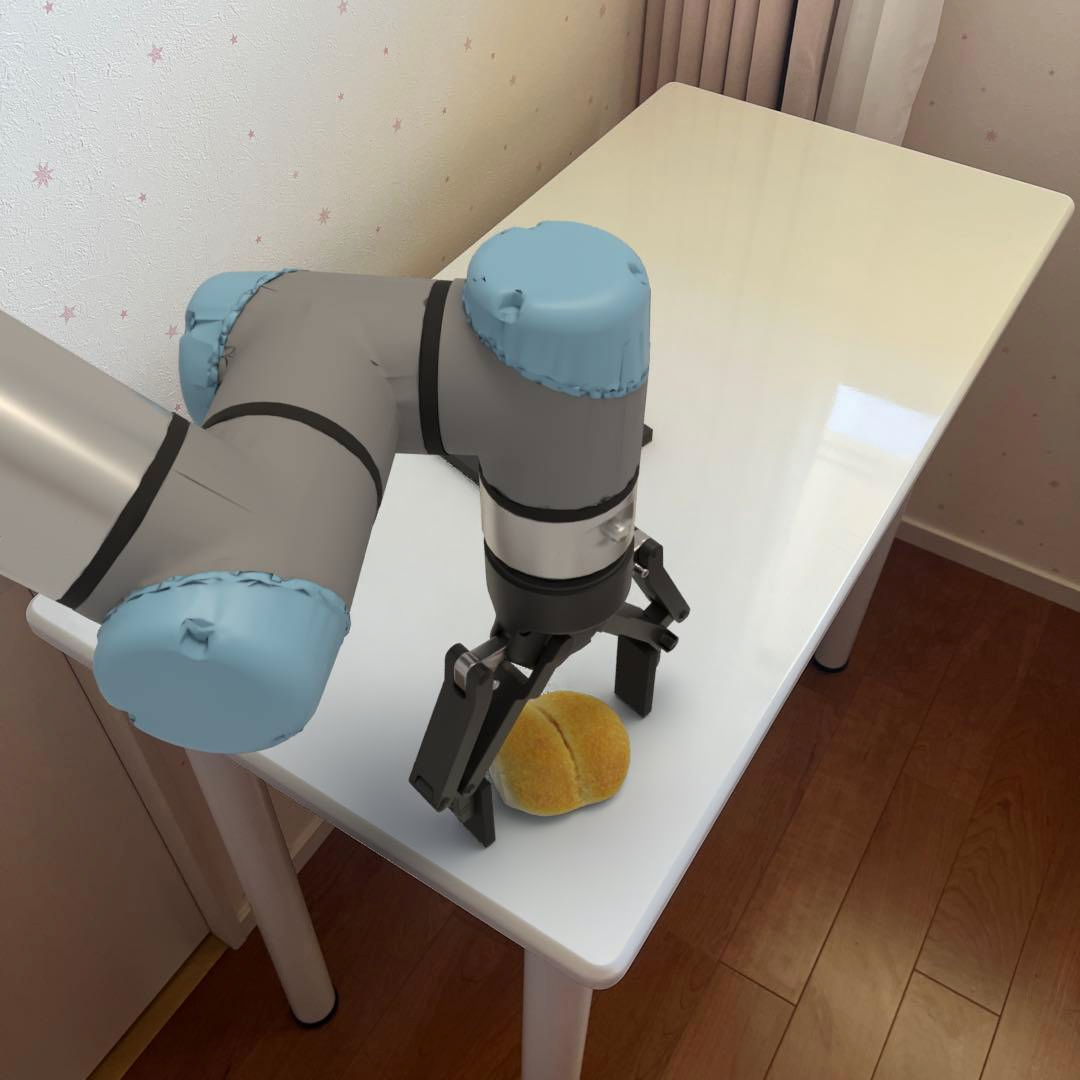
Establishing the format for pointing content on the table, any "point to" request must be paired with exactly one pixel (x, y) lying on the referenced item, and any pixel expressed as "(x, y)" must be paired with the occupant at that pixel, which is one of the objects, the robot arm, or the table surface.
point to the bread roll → (562, 755)
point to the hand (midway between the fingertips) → (557, 763)
